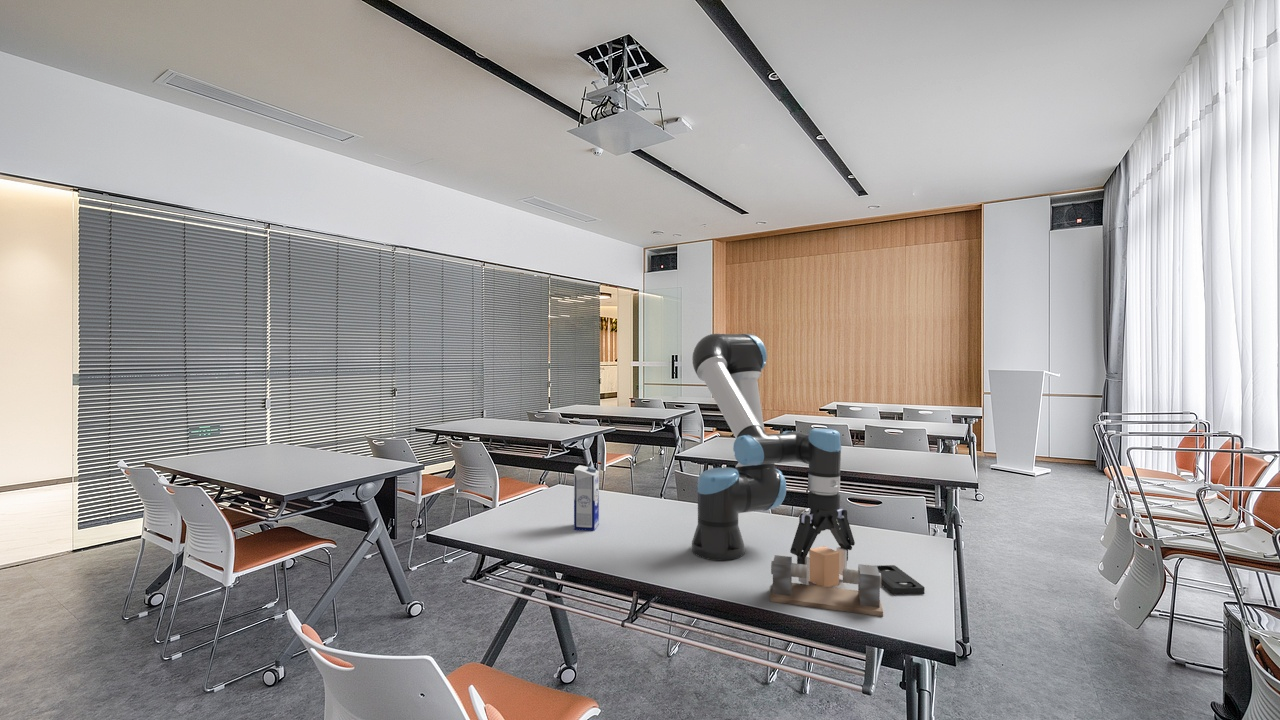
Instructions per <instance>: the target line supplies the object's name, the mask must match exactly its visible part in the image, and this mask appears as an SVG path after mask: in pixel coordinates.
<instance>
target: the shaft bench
mask: <svg viewBox="0 0 1280 720" xmlns="http://www.w3.org/2000/svg"><path fill="white" fill-rule="evenodd" d="M792 559H793V558H792V556H786V555H778V554H777V555H776V554H775V555H774V557H773V560H771V564H770V574H771V575H772V584H771V589H770V595H769V602H770V603H771V602H772V603H779V604H786V605H787V604H788V605H794V606H802V607H811V608H818V609H824V610H831V611H839V612H847V613H855V614H861V615H868V616H869V615H870V616H878V617H884V610H883V606H882V603H881V597H880V596H881V595H880V593H881V591H880V590H881V589H880V588H882V585H881V573H879V571H878V568H877V566H878V565H870V564H860V563H858V569H848V568H847V569H843V576H842V583H845V584H852V585H857V587H858V588H857V589H858V590H856V589H849V588H848V589H846V588H841V587H840V588H839V587H833V586H832V587H824V586H818V585H816V584H815V585H814V584H809V585H805V584H803V583H800V582H793V581H792V578H799V577H800V578H807V565H805V564H797V562H796V563H794V562H792V561H793V560H792Z"/></svg>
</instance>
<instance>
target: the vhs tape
mask: <svg viewBox="0 0 1280 720" xmlns="http://www.w3.org/2000/svg"><path fill="white" fill-rule="evenodd" d="M876 566H877V568H878V571H879V573H881V587H884V589H886V590H887V591H888V593H890V594H892V595H893V596H894V595H925V586H924V585H922V584H921V583H920V582H918V581H917V580H916V579H914V578H913V577H912V576H910V575H909V574H907V572H905V571H903V570H902V569H900V568H899V567H898V566H896V565H895V564H893V565H892V564H890V565H889V564H888V565H887V564H886V565H881V564H880V565H876Z"/></svg>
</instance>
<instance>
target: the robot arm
mask: <svg viewBox="0 0 1280 720" xmlns="http://www.w3.org/2000/svg"><path fill="white" fill-rule="evenodd" d="M767 355H768V354H767V348H766V346H765V343H764V342H763V341H762V340H761V338H759V337H758V336H757V335H754V334H747V333H735V334H734V333H710V334H708V335H706V336H704V337H702V338H701V339H700V340H699V341H698V342H697V344H696V345H695V347H694V350H693V352H692V366H693V369H694V372H695V374H696V375H697V378H698V379H699V380H701V381H703V382H704V383H705V385H706V387H707V389H708V391H709V392H710V394H711V396H712V398H713V400H714V402H715V403H716V405H717V406H718V409H719V411H720V412H721V414H722V416H723V418H724V420H725V422H726V424H727V425H728V427H729V428H730V430H731V432H732V434H733V436H734V437H735V440H734V442H733V447H732V450H733V453H734V458H735V460H736V461H737V462H738V463H737V464H735V468H734V467H729V466H728V467H727V466H725V467H714V468H710V469H706V470H704V471H702V472H701V473H700V474H699V475H698V479H697V487H696V490H697V525H696V528H695V531H694V533H693V534H694V535H693V537H692V540H691V552H692V553H693V554H694V555H695V556H697V557H700V558H703V559H706V560H713V561H732V560H736V559H740V558H741V557H743V556H744V555H745V541H744V539H743V536H742V532H741V530H740V526H739V514H741V513H742V514H743V513H751V512H753V513H754V512H759V511H763V512H764V511H766V512H767V511H769V510H773V509H777V508H778V507H780V506H781V505H782V504H783V501H784V500H785V498H786V494H787V482H786V478H785V476H784V474H783V472H782V471H781V470H779V469H777V468H776V464H784V463H795V462H798V463H802V464H806V465H808V481H807V482H808V484H807V485H808V486H807V487H808V488H807V489H808V490H809V491H808V495H807V496H808V497H807V500H808V501H807V502H808V503H807V504H808V507H809V510H810V511H809V513H808V514H805V513H799V519H798V520H799V521H798V522H799V523H798V525H797V528H796V532H795V535H794V538H793V541H792V544H791V547H790V549H789V550H790V551H789V553H791V554H792V555H794V556H796V564H805V565H807V578H800V577H798V583H800V584H805V585H810V581H809V557H808V555H809V550H810V549H812V547H813V545H814V542H815V540H816V539H817V537H818V535H820V534H821V533H822V532H823V531H826V530H828V531H829V530H830V533H831V534H832V536H833V538H834V539H835V541H836V542H837V544H838V545H839V546H836V550H835V551H837V552H839V576H842V577H843V569H848V561H849V551H852V549H853V547H854V546H855V544H856V542H855V539H854V536H853V533H852V529H851V525H850V523H849V519H848V510H846V509H843V508H841V495H840V494H839V492H840V491H841V454H842V444H841V433H840V432H839V431H838V430H835V429H831V428H830V429H829V428H812V429H810V430H809V433H803V432H800V431H796V430H785V431H783V432H781V433H766V430H765V425H764V424H765V423H764V419H763V417H764V416H763V411H762V405H761V397H760V389H759V383H758V382H759V381H758V380H759V378H760V377H761V375H762V370H763V369H764V368H765V367H766V365H767V362H766V361H767V358H768V356H767Z"/></svg>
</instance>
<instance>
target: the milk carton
mask: <svg viewBox="0 0 1280 720" xmlns="http://www.w3.org/2000/svg"><path fill="white" fill-rule="evenodd" d="M573 469H574V470H573V531H586V532H587V531H588V532H589V531H590V532H595V530H596V529H597V527H598V526H599V524H600V523H599V522H600V515H599V514H600V506H599V505H600V503H599V502H600V500H599V499H600V494H599V493H600V491H599V490H600V487H599V486H600V484H599V483H600V475H599V474H600V471H599V470H597V468H595V467H593V466H585V465H581V464H580V465H578V466H576V467H575V468H573Z"/></svg>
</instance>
